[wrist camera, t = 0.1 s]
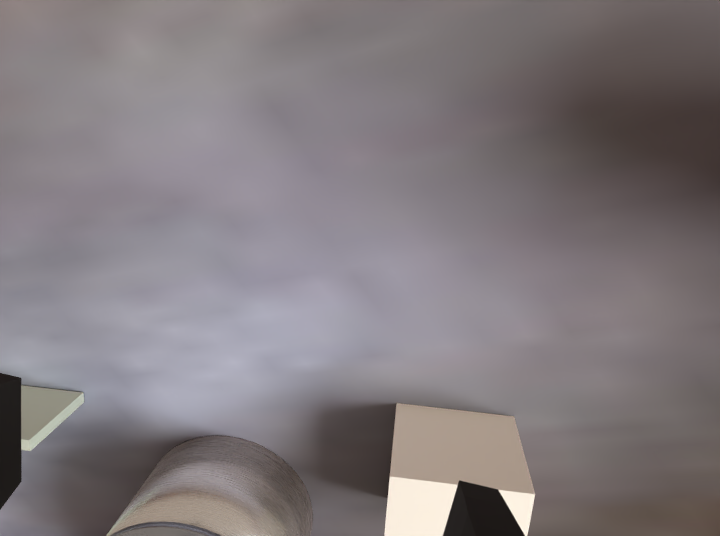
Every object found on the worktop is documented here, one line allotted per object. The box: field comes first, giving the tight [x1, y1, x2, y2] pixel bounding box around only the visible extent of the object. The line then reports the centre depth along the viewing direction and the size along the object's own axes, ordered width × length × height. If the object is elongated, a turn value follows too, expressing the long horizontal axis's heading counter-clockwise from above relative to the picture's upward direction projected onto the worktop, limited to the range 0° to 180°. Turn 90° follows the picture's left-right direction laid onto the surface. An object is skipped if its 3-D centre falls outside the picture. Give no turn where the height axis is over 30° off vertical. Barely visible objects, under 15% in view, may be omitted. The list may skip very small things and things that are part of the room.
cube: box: [384, 403, 535, 536], centre depth 18 cm, size 4×4×4 cm
